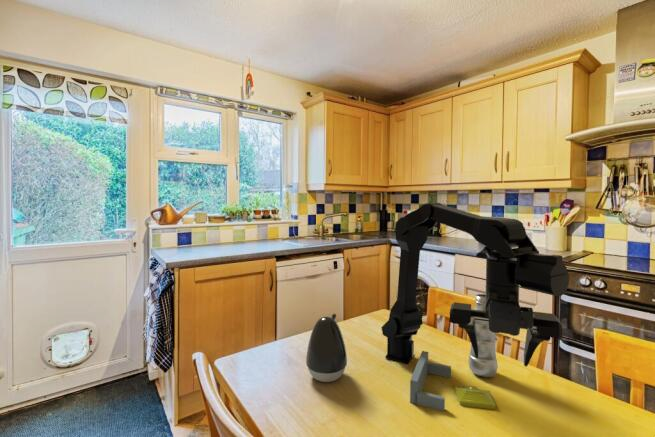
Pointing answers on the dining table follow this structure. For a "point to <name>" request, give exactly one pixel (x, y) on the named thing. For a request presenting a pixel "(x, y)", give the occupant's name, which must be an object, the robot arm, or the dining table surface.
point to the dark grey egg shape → (326, 350)
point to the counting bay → (419, 379)
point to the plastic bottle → (483, 345)
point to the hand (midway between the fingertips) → (500, 361)
